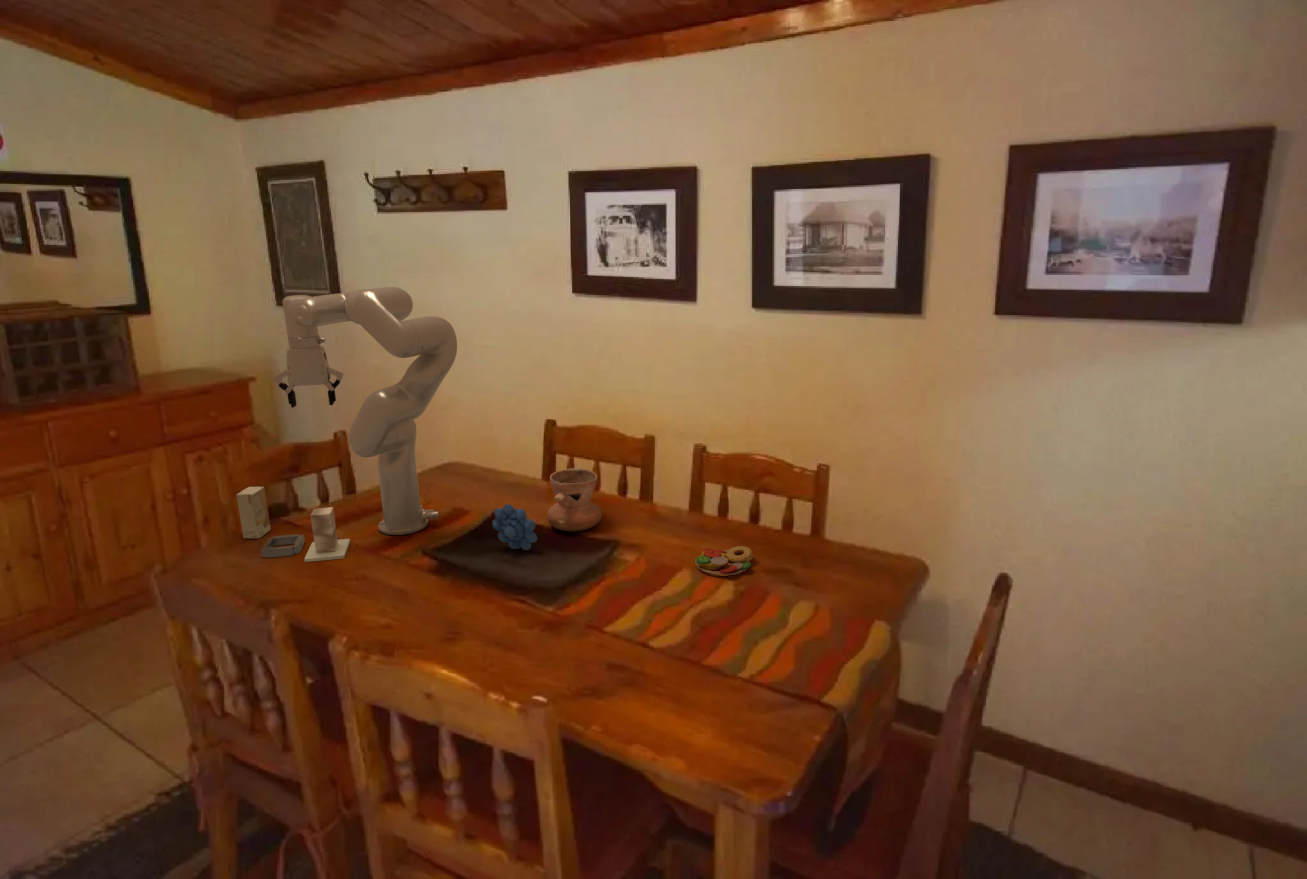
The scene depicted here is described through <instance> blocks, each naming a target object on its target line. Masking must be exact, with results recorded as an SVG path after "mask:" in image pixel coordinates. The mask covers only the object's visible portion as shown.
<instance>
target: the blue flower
mask: <svg viewBox="0 0 1307 879" xmlns="http://www.w3.org/2000/svg"><path fill="white" fill-rule="evenodd" d="M493 516H494V517H495V519H492V523H491V525H492V528H493V529H494V530H495V531H498V532H497V537H498V540H499V541H500V542H502V543H505V544H506V543H507V542H508V543H507V544H508V547H509V548H510V549H511V550H513V549H518V550H519V549H520V548H521V549H522V550H524V551H528V550H530V549H531V547H532V544H534V543H536V542H537V540H538V537H537V534H536V532H534V531H535V528H536V524H535V522H534V521H533V519H531V518H527V517H528V514H527V512H526V510H524V509H523V508H520V507H518V508H516V509H515V507H514V506H513V505H511V504H509V503H507V504H505V505H503V507H502V508H500V507H498V508H496V509H495V510H494V512H493Z"/></svg>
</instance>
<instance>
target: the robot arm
mask: <svg viewBox="0 0 1307 879" xmlns="http://www.w3.org/2000/svg"><path fill="white" fill-rule="evenodd" d="M413 307H414V302H413V298H412V296H411V295H410V294H409V293H408V292H407V291H406V290H404V289H403V288H401V287H400V288H399V287H396V286H387V287H386V286H385V287H377V288H367V289H356V290H352V291H351V292H341V293H339V292H338V293H332V294H330V293H329V294H323V295H316V296H315V295H314V296H311V295H307V294H296V295H295V294H293V295H287V296H285V297H284V298H283V299H282V309H283V313H284V321H285V329H286V335H287V342H288V347H287V348H286V357H285V358H286V360H285V361H286V370H284V371H282V372H280V373H278V374H277V375H275V376H274V377H273V380H274V381H275V382H276V384H277V386H278V387H279V388H280V389H282V391H284V392H285V393H286V394H287V401H288V405H290V406H291V408H293V409H294V408H295V407H297V399H296V398H297V397H296V392H295V390H294V388H295V387H301V386H303V387H304V386H305V387H306V386H321V385H323V386H325V387H326V388H327V389H328V391H327V396H328V404H329V406H334V404H335V402H336V401H337V398H336V391H335V390H336V388H337V387H338V386H339V385H340V383H341V382H342V379H343V377H344V373H343V372H342V371H339V370H337V369H335V368H331V367H330V366H329V361H328V356H327V353H326V350H325V346H323V345H321V344H323V343H326V337H321V336H320V334H319V329H318V327H321V326H327V325H328V326H329V325H332V324H333V325H334V324H339V323H347V322H353V323H355V324H357V325H360V326H361V327H362V328H363V329H364V330H365V331H366V332H367V334H368V335H370V336H371V337H372V338H373V339H374V340H375V341H376V342H377V343H378V344H379V345H380V346H381V347H382V348H383V349H384V350H385V351H386V352H387V353H389V354H390V355H392V356H394V357H396V358H398V359H408V358H414V357H416V358H415V360H413V361H412V362H411V364H409V366H408V368H407V369H406V370H405V373H404V374H403V376H402V377H401V379H400V380H399V381H398V382H397V383H395V384H391V385H390V386H387V387H383V388H379V389H377V390H374V391H373V392H371V393H370V394H369V395H367V397H366V398H365V399H364V401H363V403H362V405H361V406H360V409H359V411H358V412H357V414H356V416H355V418H354V419H353V421H352V424H351V426H350V427H349V431H348V443H349V447H350V448H351V450H352V452H353V453H354V454H356V455H357V456H359V457H362V458H372V457H376V456H378V458H377V473H378V481H379V482H378V483H379V490H380V499H381V506H382V513H383V519H382V520H380V522H379V523H378V527H377V528H378V530H379V532H381V533H382V534H385V535H391V536H398V535H399V536H401V535H402V536H403V535H410V534H412V533H417V532H418V531H421V530H422V529H424V528H426V527H427V526H428V523H429V520H430V519H432V520H434V519H435V520H436V519H439V511H438V510H436V511H435V509H434V508H433V509H432V508H431V509H425V508H423V504H421V503H420V502H421V501H420V492H419V482H418V473H417V472H418V471H417V462H416V461H417V460H416V440H417V423H416V421H415V420H416V419H418V418H419V417H421V416H422V415H423V414H424V413H425V411H426V409H427V408H428V405H429V404H430V402H431V400H432V399H433V397H434V396H435V395H436V393H437V392H438V389H439V387H440V385H441V384H442V382H443V381H444V379H445V378H446V376H447V374H448V373H449V372H450V370H451V368H452V367H453V365H454V362H455V360H456V358H457V351H458V341H457V340H458V338H457V334H456V331H455V329H454V327H453V325H452V324H451V323H450V322H449V321H448V320H446V319H445V318H443V317H439V316H421V317H417V318H412V319H406V318H408V317H409V316H410V315H411V313H412V311H413ZM405 319H406V320H405ZM331 375H332V376H335V377H336V378H335V380H334V382H332V381H331V377H332V376H331ZM285 377H287V381H288V384H287V383H285V382H284V381H283V378H285Z"/></svg>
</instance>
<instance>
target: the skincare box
mask: <svg viewBox="0 0 1307 879" xmlns="http://www.w3.org/2000/svg"><path fill="white" fill-rule="evenodd" d="M266 497H267V496H266V491H265V486H248V487H246V488H244V489H243V490H241V491H240V492H238V493H236V500H237V507H238V511H239V517H240V518H239V519H240V524H241V530H242V536H243V537H242V538H243V539H260V538H261V537H263V536H264V535H266V534H267V533H269V532H270V531H271V530H272V529H271V522H270V521H271V520H270V517H269V510H268V504H267V498H266Z"/></svg>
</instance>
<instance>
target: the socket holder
mask: <svg viewBox="0 0 1307 879" xmlns="http://www.w3.org/2000/svg"><path fill="white" fill-rule="evenodd" d="M305 543H306V539H305V535H304V534H300V533H299V534H298V533H297V534H287V535H276V536H272V537H268V538H267V539H266V541H265V543H264V544H263V546H262V547H261V549H260V552H261V557H262V558H267V559H269V558H270V559H271V558H281V557H288V556H294V555H299V554H300V553H301V551H302V549H303V547H304V545H305ZM285 545H288V546H285ZM289 545H290V546H289ZM275 546H277V547H275Z"/></svg>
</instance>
